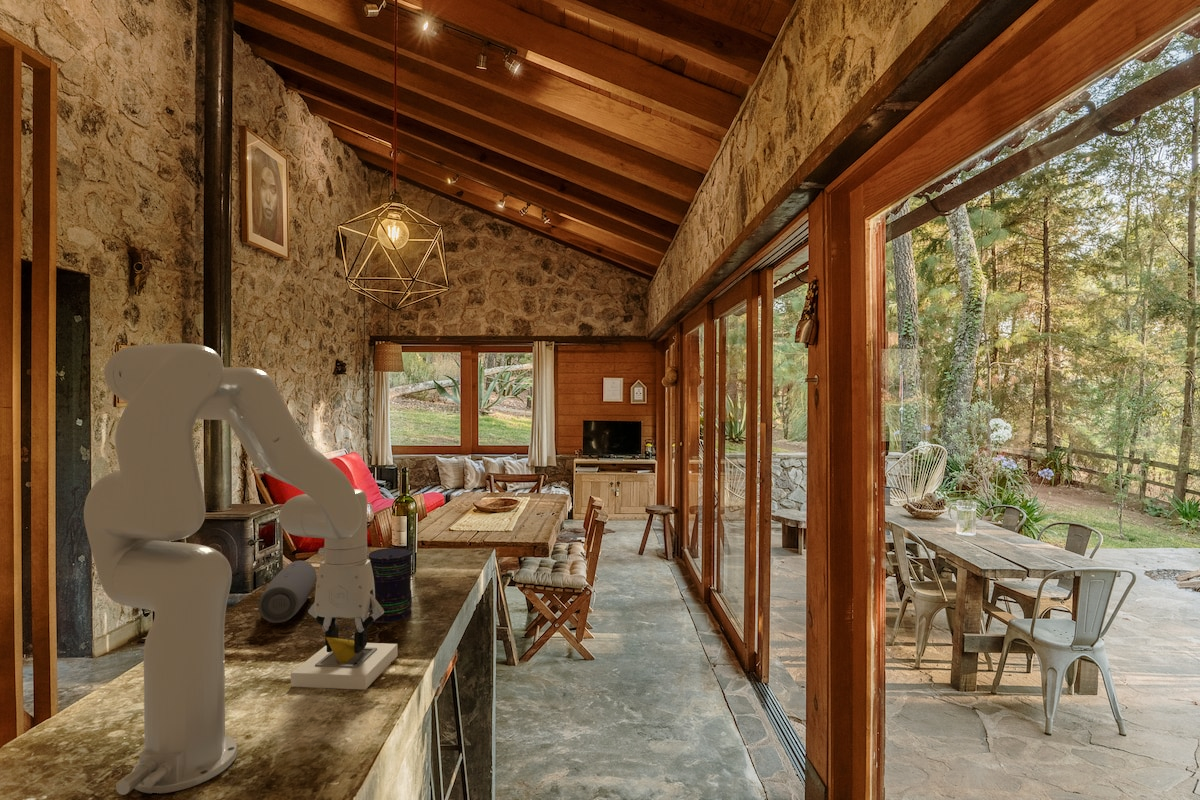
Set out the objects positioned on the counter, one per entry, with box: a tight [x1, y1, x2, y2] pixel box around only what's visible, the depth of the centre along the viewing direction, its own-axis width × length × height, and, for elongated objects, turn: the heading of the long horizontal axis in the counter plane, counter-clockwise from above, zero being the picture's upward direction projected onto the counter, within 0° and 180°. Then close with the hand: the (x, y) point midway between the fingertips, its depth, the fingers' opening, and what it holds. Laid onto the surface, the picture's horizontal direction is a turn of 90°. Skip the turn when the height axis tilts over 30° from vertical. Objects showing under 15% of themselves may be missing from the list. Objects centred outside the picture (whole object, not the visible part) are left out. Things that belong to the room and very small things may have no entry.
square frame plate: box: [290, 642, 399, 691], centre depth 118 cm, size 14×14×3 cm
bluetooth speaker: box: [258, 560, 317, 624], centre depth 150 cm, size 23×9×10 cm, turn 15°
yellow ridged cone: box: [326, 637, 365, 665], centre depth 118 cm, size 5×5×10 cm
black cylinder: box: [368, 547, 413, 624], centre depth 147 cm, size 10×10×15 cm
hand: (346, 648), depth 118 cm, fingers closed on yellow ridged cone, 4 cm apart
